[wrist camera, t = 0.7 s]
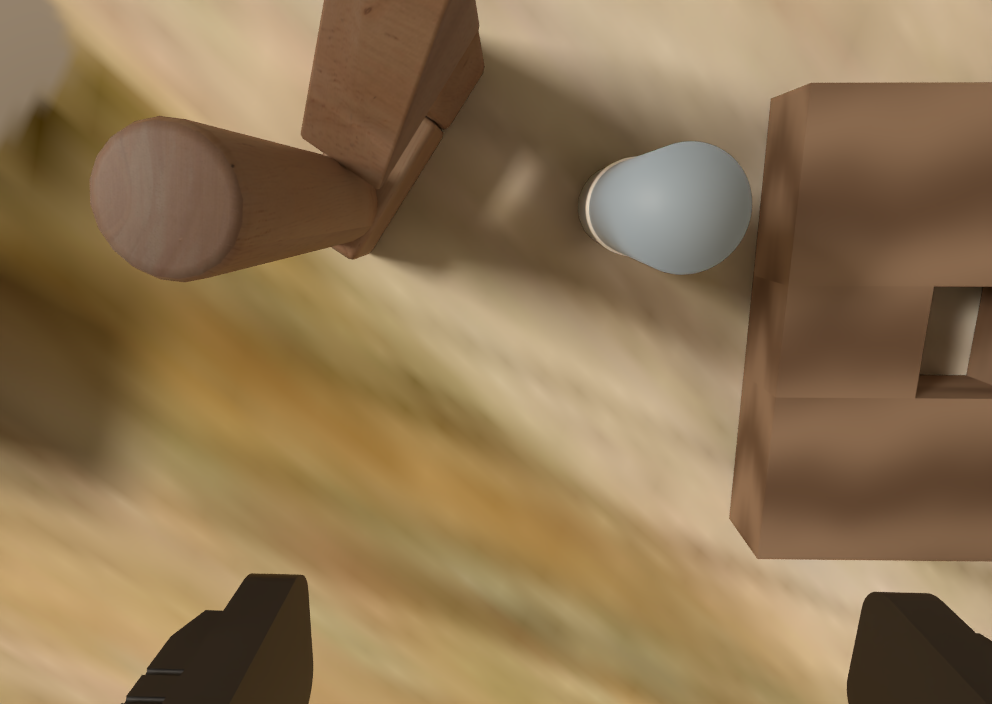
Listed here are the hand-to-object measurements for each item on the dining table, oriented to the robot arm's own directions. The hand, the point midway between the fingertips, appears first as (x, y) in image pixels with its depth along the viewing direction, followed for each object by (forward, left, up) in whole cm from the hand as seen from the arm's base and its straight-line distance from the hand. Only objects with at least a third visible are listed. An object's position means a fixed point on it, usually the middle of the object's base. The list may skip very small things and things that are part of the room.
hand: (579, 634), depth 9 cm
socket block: (0, +20, -24) cm, 31 cm away
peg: (-6, +4, -24) cm, 25 cm away
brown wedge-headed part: (-9, -7, -24) cm, 26 cm away
